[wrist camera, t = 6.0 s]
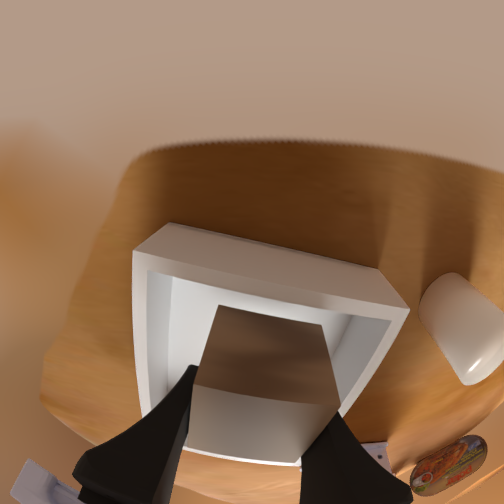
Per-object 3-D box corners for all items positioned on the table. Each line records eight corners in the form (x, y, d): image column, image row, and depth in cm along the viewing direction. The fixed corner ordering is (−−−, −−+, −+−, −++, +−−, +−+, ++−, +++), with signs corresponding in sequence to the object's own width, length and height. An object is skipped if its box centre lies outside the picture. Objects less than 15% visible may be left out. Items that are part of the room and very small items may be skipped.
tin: (478, 426, 25) (494, 459, 17) (476, 432, 26) (490, 463, 18) (405, 466, 29) (414, 503, 21) (405, 470, 30) (414, 505, 22)
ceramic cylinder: (474, 278, 16) (525, 323, 10) (448, 329, 18) (487, 382, 11) (435, 266, 16) (492, 318, 9) (408, 324, 18) (447, 387, 11)
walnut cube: (321, 324, 12) (341, 405, 8) (291, 390, 14) (294, 463, 10) (218, 304, 12) (193, 383, 8) (206, 375, 14) (187, 447, 9)
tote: (378, 269, 16) (410, 309, 12) (297, 425, 23) (299, 466, 18) (169, 221, 16) (132, 250, 11) (161, 398, 22) (146, 438, 18)
